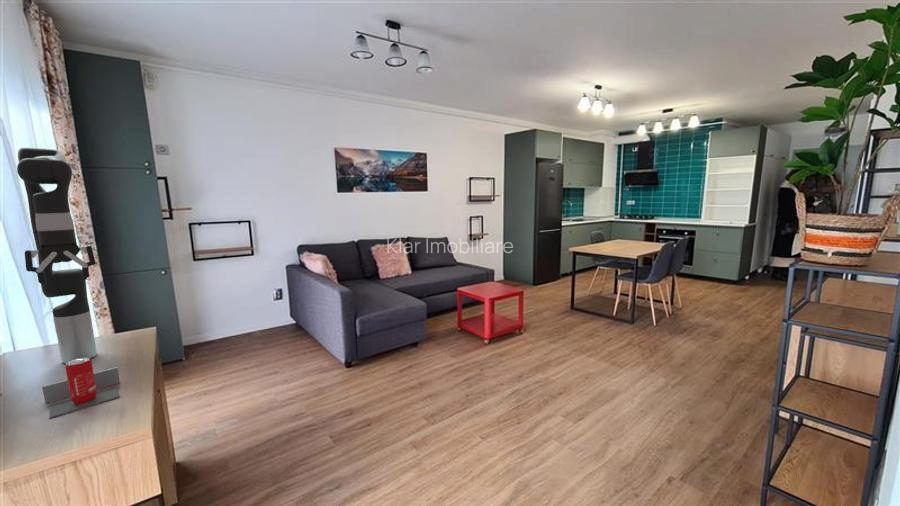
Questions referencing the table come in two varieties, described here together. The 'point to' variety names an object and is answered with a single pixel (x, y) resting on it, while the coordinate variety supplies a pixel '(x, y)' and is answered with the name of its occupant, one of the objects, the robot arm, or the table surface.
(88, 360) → the beverage can
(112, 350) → the table surface
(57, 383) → the low wall
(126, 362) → the table surface
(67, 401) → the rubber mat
